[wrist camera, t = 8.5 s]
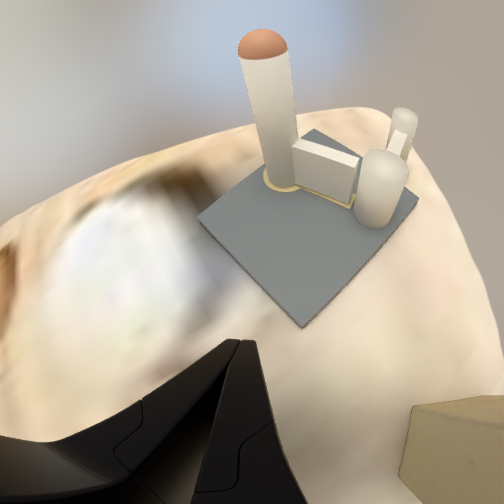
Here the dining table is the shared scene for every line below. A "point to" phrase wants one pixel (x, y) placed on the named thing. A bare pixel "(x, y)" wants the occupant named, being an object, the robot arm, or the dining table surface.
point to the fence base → (385, 173)
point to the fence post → (288, 123)
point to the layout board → (298, 237)
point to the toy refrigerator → (456, 452)
